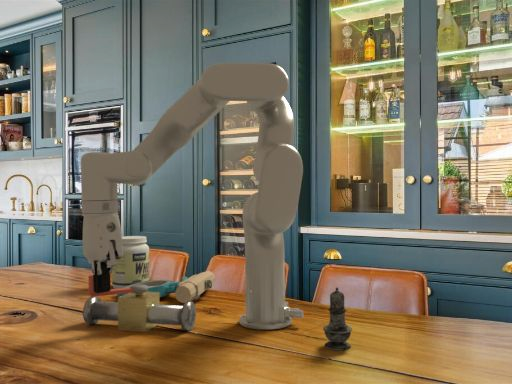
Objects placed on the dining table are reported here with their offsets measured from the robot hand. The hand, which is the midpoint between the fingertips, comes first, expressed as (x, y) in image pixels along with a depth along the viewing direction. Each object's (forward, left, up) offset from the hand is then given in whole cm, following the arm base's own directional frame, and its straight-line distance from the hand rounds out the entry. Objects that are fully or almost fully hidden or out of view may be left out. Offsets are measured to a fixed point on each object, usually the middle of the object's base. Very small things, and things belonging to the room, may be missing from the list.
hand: (102, 291), depth 101 cm
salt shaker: (-51, -4, -10) cm, 52 cm away
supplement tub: (+20, -48, -10) cm, 53 cm away
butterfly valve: (+3, -38, -10) cm, 39 cm away
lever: (-1, -5, -2) cm, 6 cm away
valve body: (-4, -8, -10) cm, 14 cm away
